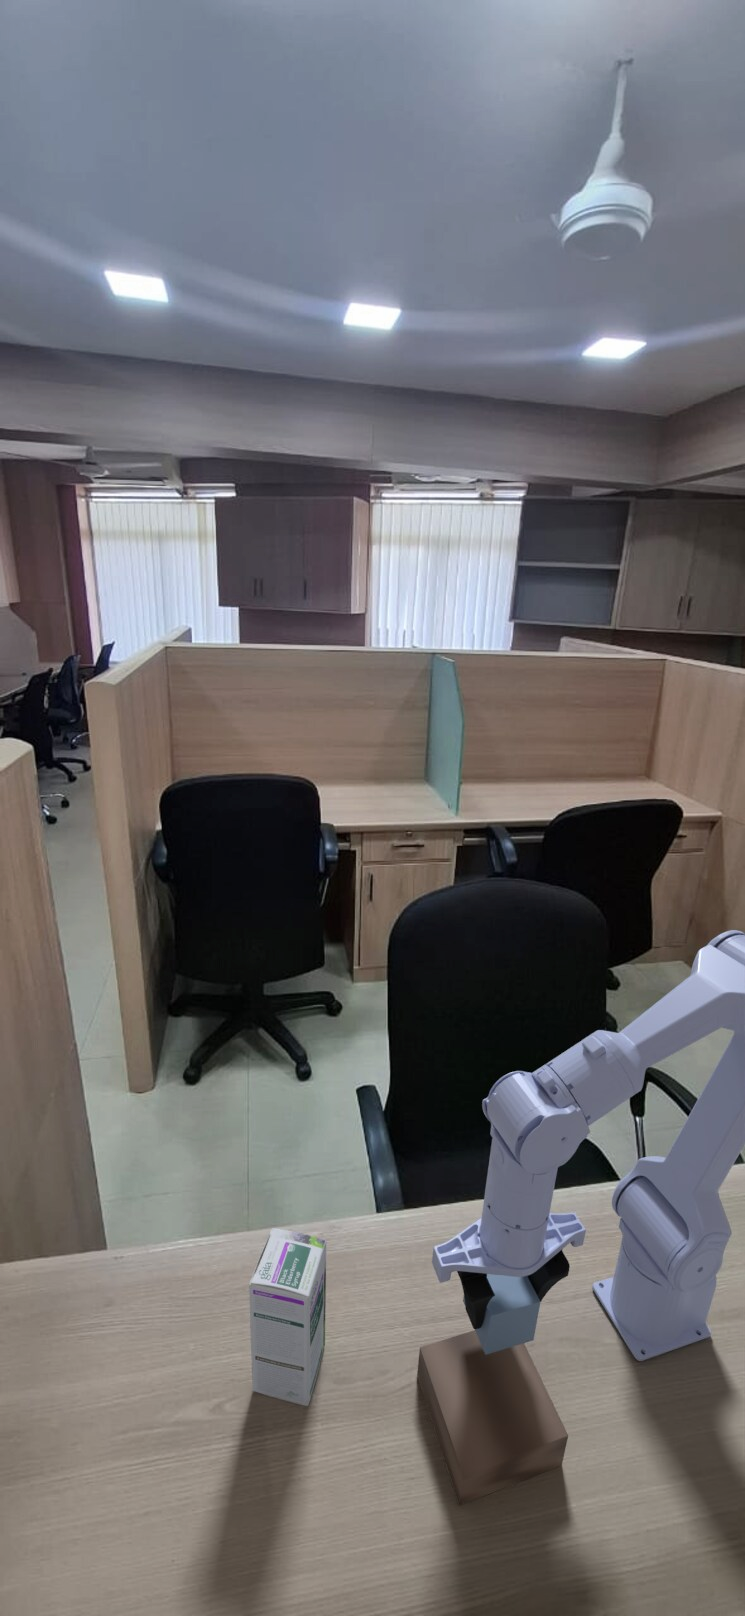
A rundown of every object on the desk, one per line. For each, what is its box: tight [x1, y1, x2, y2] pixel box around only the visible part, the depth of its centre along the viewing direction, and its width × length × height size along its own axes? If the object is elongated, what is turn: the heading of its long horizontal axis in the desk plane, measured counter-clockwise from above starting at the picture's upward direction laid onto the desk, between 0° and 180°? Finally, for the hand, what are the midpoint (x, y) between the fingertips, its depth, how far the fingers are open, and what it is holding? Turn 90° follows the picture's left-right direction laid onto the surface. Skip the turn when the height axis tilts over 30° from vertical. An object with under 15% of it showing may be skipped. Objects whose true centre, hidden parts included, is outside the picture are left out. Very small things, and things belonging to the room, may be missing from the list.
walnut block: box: [416, 1329, 569, 1506], centre depth 60 cm, size 10×10×4 cm
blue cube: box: [462, 1274, 541, 1355], centre depth 62 cm, size 5×5×5 cm
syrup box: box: [248, 1227, 327, 1407], centre depth 62 cm, size 6×6×14 cm
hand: (499, 1310), depth 62 cm, fingers closed on blue cube, 5 cm apart
